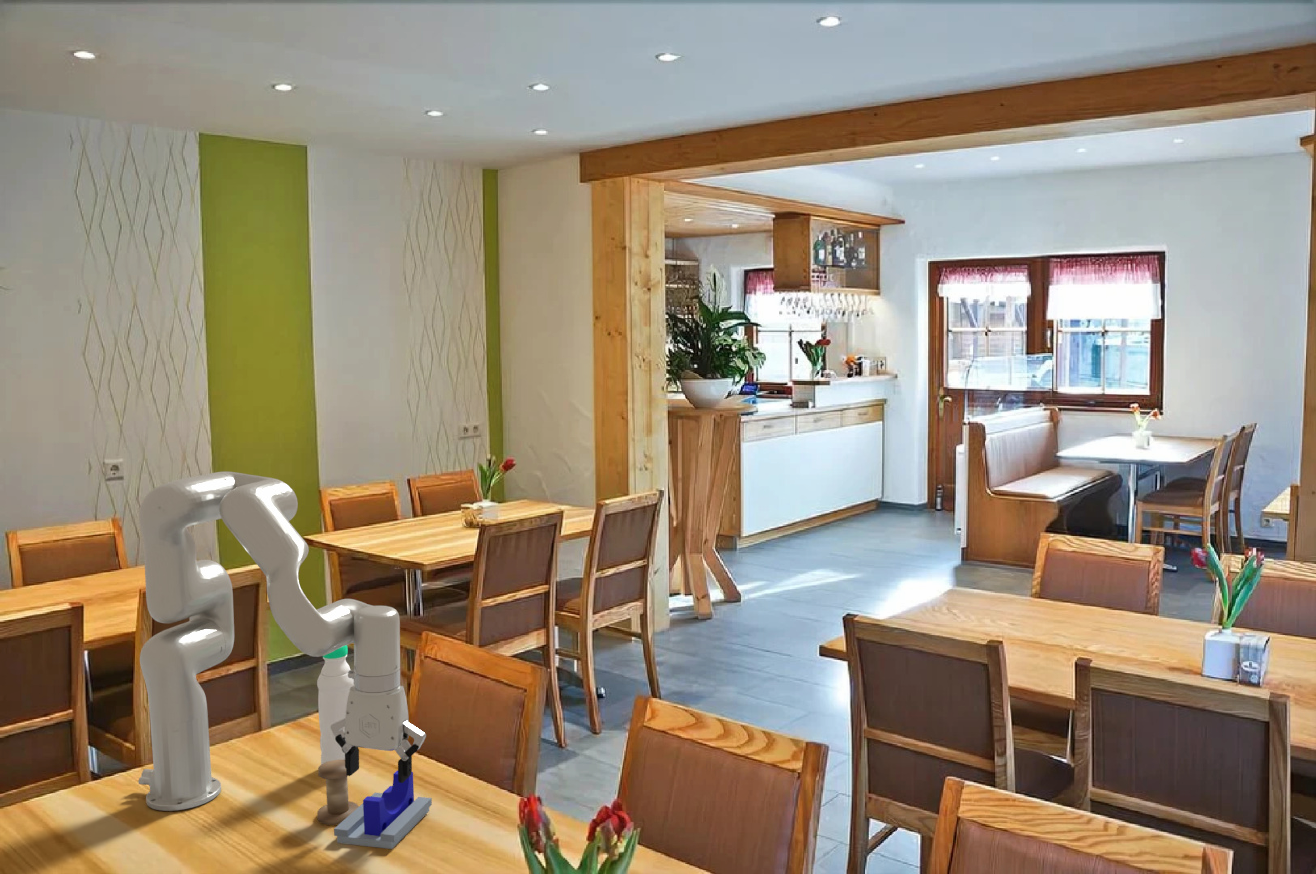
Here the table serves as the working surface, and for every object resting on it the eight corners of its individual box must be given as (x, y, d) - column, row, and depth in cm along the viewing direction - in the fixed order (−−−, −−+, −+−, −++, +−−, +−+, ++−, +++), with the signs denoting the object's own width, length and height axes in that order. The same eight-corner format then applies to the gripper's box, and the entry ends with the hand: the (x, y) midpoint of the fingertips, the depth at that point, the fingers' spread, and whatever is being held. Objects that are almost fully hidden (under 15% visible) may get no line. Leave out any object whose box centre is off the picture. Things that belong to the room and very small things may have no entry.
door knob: (309, 822, 184) (307, 773, 183) (331, 805, 191) (328, 756, 190) (346, 826, 183) (343, 776, 182) (366, 808, 190) (364, 760, 189)
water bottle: (353, 776, 203) (347, 649, 200) (316, 776, 203) (309, 649, 201) (363, 761, 210) (358, 638, 207) (328, 761, 210) (322, 638, 208)
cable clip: (391, 802, 189) (389, 769, 189) (414, 804, 188) (412, 772, 188) (356, 833, 178) (354, 799, 177) (380, 836, 177) (379, 802, 176)
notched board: (334, 842, 177) (333, 829, 177) (375, 805, 191) (374, 792, 191) (394, 849, 175) (394, 835, 174) (432, 811, 188) (431, 798, 188)
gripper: (319, 682, 178) (321, 779, 180) (414, 692, 174) (414, 792, 176) (342, 667, 186) (344, 761, 188) (434, 677, 182) (434, 773, 184)
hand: (378, 776), depth 182 cm, fingers open, 9 cm apart
